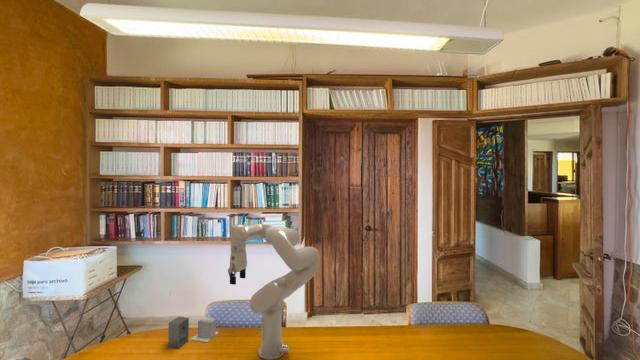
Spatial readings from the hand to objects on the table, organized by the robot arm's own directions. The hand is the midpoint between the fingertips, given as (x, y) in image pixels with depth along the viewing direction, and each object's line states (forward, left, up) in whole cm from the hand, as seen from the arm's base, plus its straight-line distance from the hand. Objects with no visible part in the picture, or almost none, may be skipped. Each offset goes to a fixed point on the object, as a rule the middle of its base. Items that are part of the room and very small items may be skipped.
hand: (237, 281), depth 151 cm
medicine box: (+17, +2, -30) cm, 35 cm away
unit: (+26, +12, -30) cm, 42 cm away
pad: (+18, +2, -30) cm, 35 cm away
